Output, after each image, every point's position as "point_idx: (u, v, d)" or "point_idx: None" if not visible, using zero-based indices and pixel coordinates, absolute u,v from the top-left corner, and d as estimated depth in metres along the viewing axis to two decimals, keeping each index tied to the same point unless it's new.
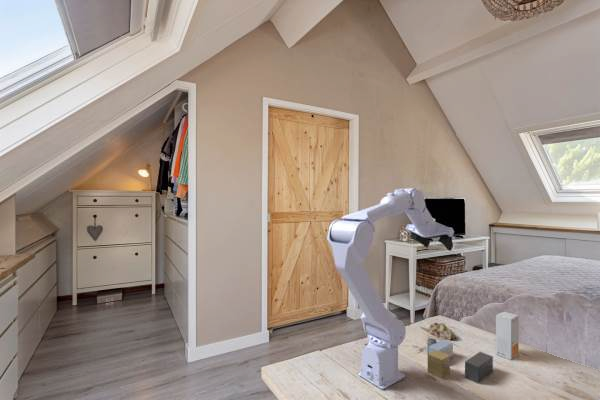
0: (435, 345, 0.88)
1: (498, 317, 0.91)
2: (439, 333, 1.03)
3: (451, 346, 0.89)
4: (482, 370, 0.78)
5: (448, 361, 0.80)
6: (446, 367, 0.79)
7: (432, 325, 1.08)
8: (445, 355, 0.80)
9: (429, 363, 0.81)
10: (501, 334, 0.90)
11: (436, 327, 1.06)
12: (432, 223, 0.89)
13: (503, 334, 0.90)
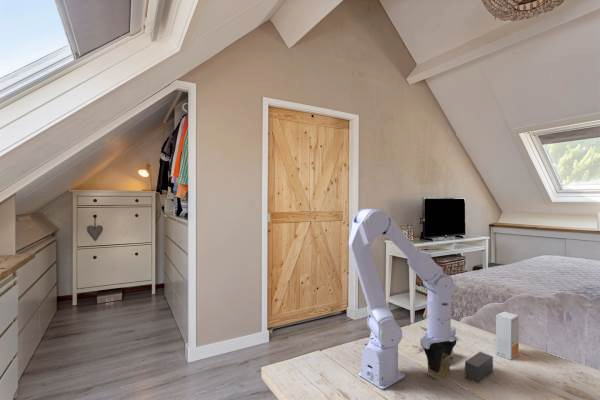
0: None
1: (498, 317, 0.91)
2: None
3: None
4: (482, 370, 0.78)
5: (448, 361, 0.80)
6: (446, 367, 0.79)
7: None
8: (445, 355, 0.80)
9: None
10: (501, 334, 0.90)
11: None
12: (432, 325, 0.79)
13: (503, 334, 0.90)
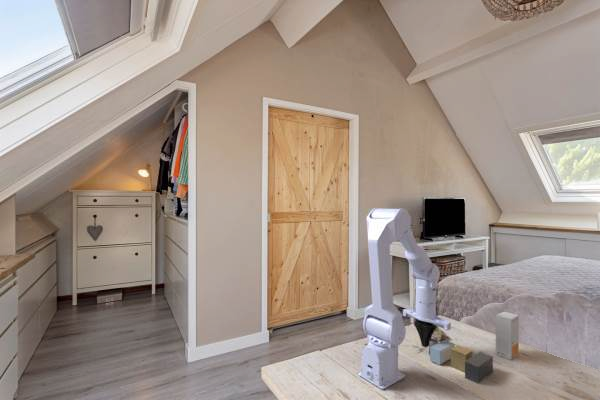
0: (437, 345, 0.88)
1: (498, 317, 0.91)
2: None
3: (453, 347, 0.88)
4: (482, 370, 0.78)
5: (471, 356, 0.83)
6: None
7: None
8: (468, 350, 0.83)
9: (452, 358, 0.83)
10: (501, 334, 0.90)
11: None
12: (434, 309, 0.90)
13: (503, 334, 0.90)
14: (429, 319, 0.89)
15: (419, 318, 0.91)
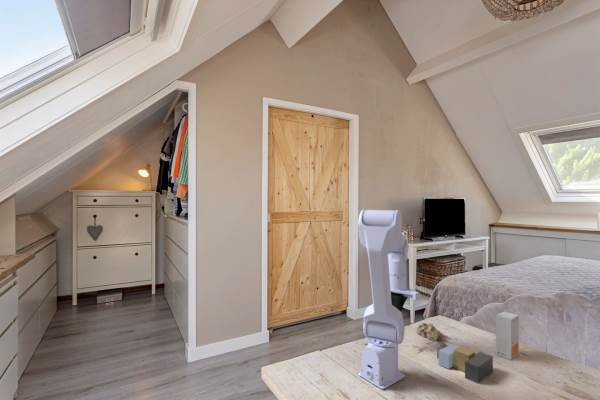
0: (445, 349, 0.86)
1: (498, 317, 0.91)
2: (426, 333, 1.02)
3: None
4: (482, 370, 0.78)
5: None
6: None
7: (420, 325, 1.08)
8: (471, 351, 0.83)
9: (455, 359, 0.83)
10: (501, 334, 0.90)
11: (424, 327, 1.06)
12: (404, 281, 0.94)
13: (503, 334, 0.90)
14: (399, 290, 0.93)
15: None
